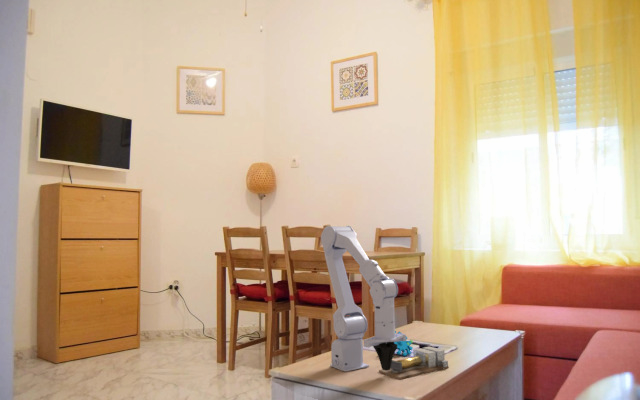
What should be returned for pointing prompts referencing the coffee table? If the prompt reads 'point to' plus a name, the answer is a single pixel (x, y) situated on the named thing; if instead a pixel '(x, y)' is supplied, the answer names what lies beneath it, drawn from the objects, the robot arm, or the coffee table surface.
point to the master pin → (405, 363)
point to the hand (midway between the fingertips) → (385, 369)
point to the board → (410, 371)
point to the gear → (404, 346)
